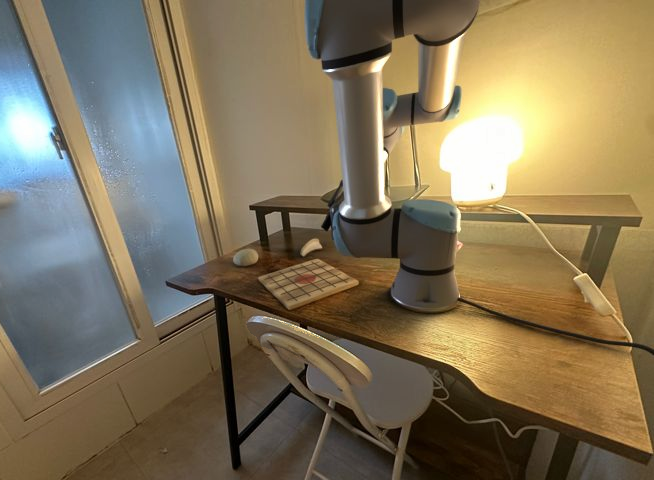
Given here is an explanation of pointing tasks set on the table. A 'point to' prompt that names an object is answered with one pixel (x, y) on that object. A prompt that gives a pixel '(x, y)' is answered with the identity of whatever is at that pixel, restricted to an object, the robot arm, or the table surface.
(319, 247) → the ceramic fragment
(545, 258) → the table surface
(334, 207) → the dark grey rounded cylinder
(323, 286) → the game board
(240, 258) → the sea urchin shell
